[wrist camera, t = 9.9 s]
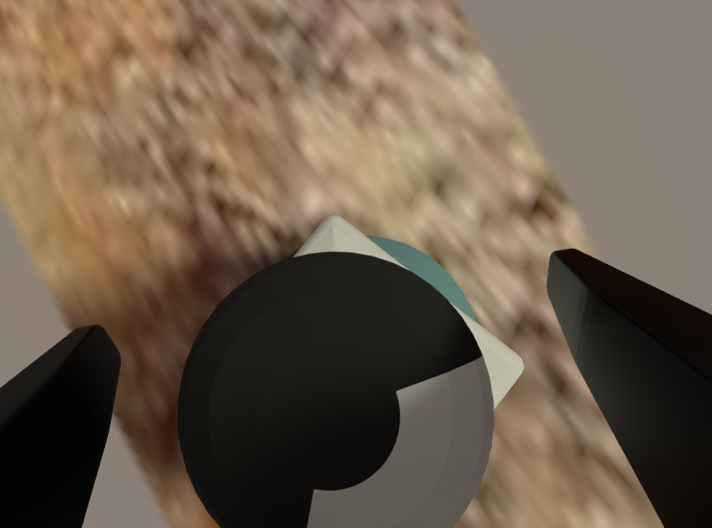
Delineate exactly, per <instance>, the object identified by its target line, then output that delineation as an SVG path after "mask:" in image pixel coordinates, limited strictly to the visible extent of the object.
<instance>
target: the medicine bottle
mask: <svg viewBox="0 0 712 528" xmlns="http://www.w3.org/2000/svg"><path fill="white" fill-rule="evenodd" d="M523 369H524V366H523V361H522V359H521V358H520V357H519V356H518V355H517V354H516V353H515V352H514V351H512V350H511V349H510V348H508V347H507V346H506V345H505V344H503V343H502V342H501V341H499V340H498V339H497V338H496V337H494V336H493V335H492V334H490V333H489V332H488V331H487V330H485V329H484V328H483V327H481V326H480V325H479V324H478V323H476V322H475V321H474V320H473V319H471V318H470V317H469V316H467V315H466V314H465V313H464V312H462V311H461V310H460V309H458V308H457V307H456V306H455V305H453V304H452V303H451V302H449V301H448V299H447V298H445V297H444V296H443V295H442V294H441V293H440V292H439V291H438V290H437V289H435V288H434V287H433V286H432V285H431V284H430V283H428V282H427V281H425V280H424V279H422V278H421V277H419V276H418V275H416V274H415V273H413V272H411V271H410V270H408V269H407V268H406V267H404V266H403V265H402V264H401V263H399V262H398V261H397V260H395V259H394V258H393V257H392V256H390V255H389V254H388V253H387V252H385V251H384V250H383V249H381V248H380V247H379V246H378V245H376V244H375V243H374V242H372V241H371V240H370V239H369V238H367V237H366V236H365V235H363V234H362V233H361V232H360V231H358V230H357V229H356V228H354V227H353V226H352V225H351V224H349V223H348V222H347V221H345V220H344V219H343V218H342V217H339V216H337V215H332V216H328V217H327V218H325V219H324V220H323V221H322V223H321V224H320V225H319V226H318V228H317V229H316V230H315V231H314V232H313V234H312V235H311V236H310V237H309V239H308V240H307V241H306V242H305V243H304V245H303V246H302V247H301V248H300V250H299V251H298V252H297V253H296V254H295V256H294V257H293V258H289V259H287V260H284V261H281V262H279V263H276V264H274V265H271V266H269V267H267V268H265V269H264V270H262V271H260V272H258V273H256V274H255V275H253V276H251V277H250V278H249V279H247V280H246V281H245V282H243V283H242V284H241V285H239V286H238V287H237V288H235V289H234V290H233V291H232V292H231V293H230V294H229V295H228V296H227V297H226V298H225V299H224V300H223V301H222V302H221V303H220V304H219V305H218V306H217V308H216V309H215V310H214V311H213V313H212V314H211V315H210V317H209V318H208V319H207V321H206V322H205V324H204V325H203V327H202V329H201V331H200V332H199V334H198V336H197V338H196V339H195V341H194V344H193V346H192V348H191V351H190V353H189V356H188V358H187V361H186V364H185V368H184V372H183V375H182V379H181V384H180V391H179V399H178V432H179V439H180V446H181V451H182V455H183V459H184V462H185V466H186V470H187V473H188V475H189V477H190V480H191V482H192V484H193V487H194V489H195V491H196V493H197V495H198V497H199V498H200V500H201V502H202V503H203V505H204V507H205V508H206V510H207V512H208V513H209V514H210V515H211V517H212V518H213V519H214V520H215V522H216V523H217V524H218V525H219V527H220V528H452V527H453V526H454V525H455V523H456V522H457V521H458V520H459V518H460V517H461V516H462V515H463V513H464V512H465V510H466V509H467V507H468V505H469V504H470V502H471V500H472V499H473V497H474V495H475V494H476V492H477V489H478V487H479V485H480V482H481V480H482V477H483V475H484V473H485V470H486V466H487V463H488V459H489V455H490V451H491V447H492V438H493V429H494V409H495V408H496V407H497V405H498V404H499V403H500V401H501V400H502V399H503V397H504V396H505V395H506V393H507V392H508V391H509V390H510V388H511V387H512V386H513V384H514V383H515V382H516V380H517V379H518V378H519V376H520V375H521V374H522V371H523Z"/></svg>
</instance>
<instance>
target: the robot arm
mask: <svg viewBox="0 0 712 528" xmlns="http://www.w3.org/2000/svg"><path fill="white" fill-rule="evenodd" d="M547 292H548V296H549V298H550V301H551V303H552V306H553V308H554V311H555V313H556V316H557V319H558V321H559V324H560V326H561V329H562V331H563V334H564V336H565V339H566V341H567V344H568V346H569V349H570V351H571V354H572V356H573V358H574V361H575V363H576V365H577V367H578V369H579V371H580V373H581V375H582V376H583V378H584V380H585V382H586V384H587V386H588V387H589V389H590V391H591V393H592V395H593V397H594V398H595V400H596V402H597V404H598V406H599V408H600V410H601V411H602V413H603V415H604V417H605V419H606V421H607V422H608V424H609V426H610V428H611V430H612V432H613V434H614V435H615V437H616V439H617V441H618V443H619V445H620V446H621V448H622V450H623V452H624V454H625V456H626V458H627V459H628V461H629V463H630V465H631V467H632V469H633V470H634V472H635V474H636V476H637V478H638V480H639V482H640V483H641V485H642V487H643V489H644V491H645V493H646V494H647V496H648V498H649V500H650V502H651V504H652V506H653V507H654V509H655V511H656V513H657V515H658V517H659V518H660V520H661V522H662V524H663V526H664V528H712V315H711V314H709V313H707V312H705V311H703V310H701V309H699V308H697V307H695V306H693V305H691V304H689V303H687V302H684V301H682V300H680V299H678V298H676V297H674V296H672V295H670V294H668V293H666V292H664V291H662V290H659V289H658V288H656V287H653V286H651V285H649V284H647V283H645V282H643V281H641V280H638V279H637V278H635V277H633V276H631V275H628V274H626V273H624V272H622V271H620V270H618V269H616V268H614V267H612V266H610V265H608V264H606V263H604V262H602V261H600V260H598V259H596V258H594V257H591V256H589V255H587V254H585V253H583V252H581V251H579V250H577V249H574V248H570V249H564V250H558V251H554V252H553V253H552V254H551V256H550V261H549V269H548V278H547ZM120 366H121V356H120V353H119V351H118V349H117V348H116V346H115V344H114V343H113V341H112V340H111V338H110V337H109V335H108V334H107V332H106V331H105V329H104V328H103V327H102V326H100V325H89V326H83V327H79V328H76V329H75V330H74V331H72V332H71V333H70V334H68V335H67V336H66V337H65V338H63V339H62V340H61V341H60V342H58V343H57V344H56V345H55V346H53V347H52V348H51V349H49V350H48V351H47V352H45V353H44V354H43V355H42V356H40V357H39V358H38V359H37V360H35V361H34V362H33V363H31V364H30V365H29V366H28V367H26V368H25V369H24V370H22V371H21V372H20V373H19V374H18V375H16V376H15V377H14V378H12V379H11V380H10V381H8V382H7V383H6V384H5V385H3V386H2V387H1V388H0V528H82V525H83V522H84V518H85V515H86V511H87V508H88V504H89V501H90V497H91V494H92V490H93V487H94V483H95V480H96V476H97V473H98V469H99V466H100V462H101V459H102V455H103V452H104V448H105V445H106V441H107V437H108V433H109V429H110V424H111V419H112V413H113V407H114V401H115V395H116V389H117V384H118V378H119V372H120Z"/></svg>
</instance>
